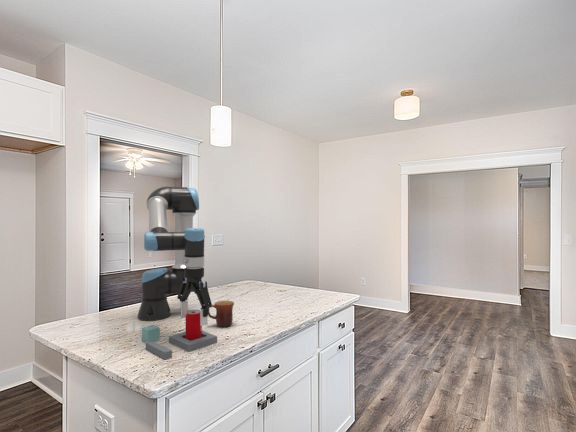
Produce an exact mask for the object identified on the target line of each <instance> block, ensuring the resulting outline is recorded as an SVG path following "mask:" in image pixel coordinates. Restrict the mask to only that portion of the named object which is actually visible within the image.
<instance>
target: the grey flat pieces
mask: <svg viewBox="0 0 576 432" xmlns="http://www.w3.org/2000/svg"><path fill="white" fill-rule="evenodd" d="M185 336H186V331H183V332H180V333H175V334H172V335H169V336H168V343H169V344H171V345H173V346H176V347H177V348H180V349H182V350H183V351H186V352H192V351H195V350H198V349H202V348H204V347H206V346H207V347H208V346H211V345H214V344H216V343H218V336H217V335H215V334H212V333H209V332H207V331H205V330H202V338H199V339H195V340H192V341H190V340H187V339H185ZM145 350H146V351H148V352H150V353H152V354H153V355H156V356H157V357H159V358H161V359H163V360H168V359H171V358H173V349H171V348H168V347H166V346H164V345H162V344H160V343H158V342H157V341H150V342H145Z"/></svg>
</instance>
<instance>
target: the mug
mask: <svg viewBox="0 0 576 432" xmlns="http://www.w3.org/2000/svg"><path fill="white" fill-rule="evenodd" d="M234 305H235V301H232V300H219V301H218V300H217V301H216V302H214V304H212V307H209V308H208V317H209V318H211V319H213V320H215V322H216V326H217V327H219V328H229V327H231V326H232V324H233V320H234V319H233V317H234V316H233V309H234V308H233V307H234ZM210 308H214V309H215V312H216V313H215V315H211V313H210Z"/></svg>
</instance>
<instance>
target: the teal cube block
mask: <svg viewBox="0 0 576 432" xmlns="http://www.w3.org/2000/svg"><path fill="white" fill-rule="evenodd" d="M160 330H161V327H160V326H157V325H155V324H152V325H147V326H143V327H141V341H142V342H145V343H146V342H150V341H154V342H157V341H159V340H161V336H160V335H161V331H160Z"/></svg>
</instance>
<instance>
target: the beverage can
mask: <svg viewBox="0 0 576 432" xmlns="http://www.w3.org/2000/svg"><path fill="white" fill-rule="evenodd" d="M202 331H203V326H200V309H190V310H188V311H187V314H186V317H185V332H186V336H185V339H187V340H190V341H192V340H195V339H199V338H202Z"/></svg>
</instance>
